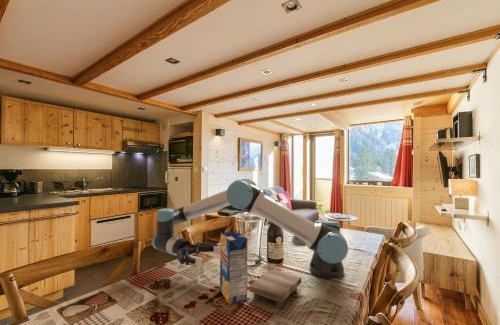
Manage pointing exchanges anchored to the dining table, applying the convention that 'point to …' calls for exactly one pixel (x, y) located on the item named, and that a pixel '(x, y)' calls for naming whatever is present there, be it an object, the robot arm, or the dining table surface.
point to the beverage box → (233, 266)
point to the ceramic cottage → (298, 241)
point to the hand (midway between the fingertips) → (214, 257)
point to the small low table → (275, 286)
